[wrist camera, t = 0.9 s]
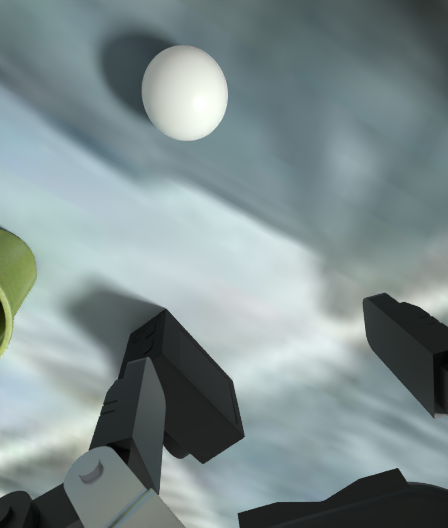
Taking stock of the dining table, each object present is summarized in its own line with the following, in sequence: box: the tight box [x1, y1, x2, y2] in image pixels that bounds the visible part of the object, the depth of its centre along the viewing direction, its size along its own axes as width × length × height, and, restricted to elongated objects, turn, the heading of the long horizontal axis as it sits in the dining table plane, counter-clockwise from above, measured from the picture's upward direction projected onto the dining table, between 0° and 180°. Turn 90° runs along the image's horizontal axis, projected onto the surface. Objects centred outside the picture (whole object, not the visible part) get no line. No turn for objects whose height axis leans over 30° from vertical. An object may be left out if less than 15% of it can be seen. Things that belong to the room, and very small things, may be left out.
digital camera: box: [118, 309, 245, 464], centre depth 29 cm, size 10×5×7 cm, turn 36°
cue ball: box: [142, 45, 228, 141], centre depth 22 cm, size 6×6×6 cm
